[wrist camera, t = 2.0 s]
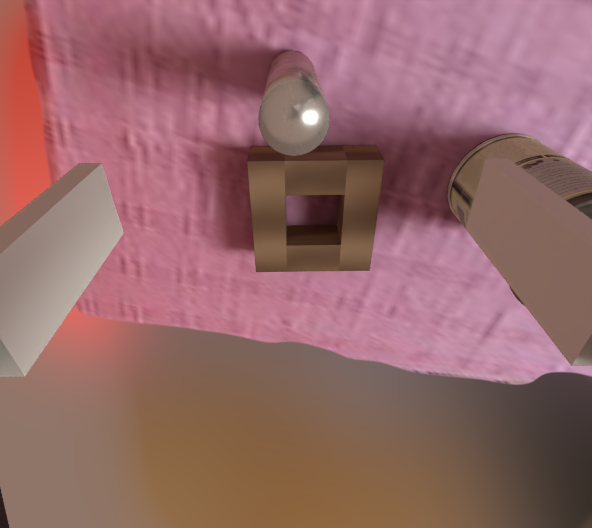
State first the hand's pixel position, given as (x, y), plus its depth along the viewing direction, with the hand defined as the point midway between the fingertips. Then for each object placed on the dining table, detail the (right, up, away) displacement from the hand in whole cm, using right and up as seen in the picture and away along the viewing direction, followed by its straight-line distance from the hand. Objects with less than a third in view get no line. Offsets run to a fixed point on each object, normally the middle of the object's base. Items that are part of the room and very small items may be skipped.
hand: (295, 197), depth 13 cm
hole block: (+2, +4, +26) cm, 26 cm away
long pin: (0, +14, +19) cm, 24 cm away
